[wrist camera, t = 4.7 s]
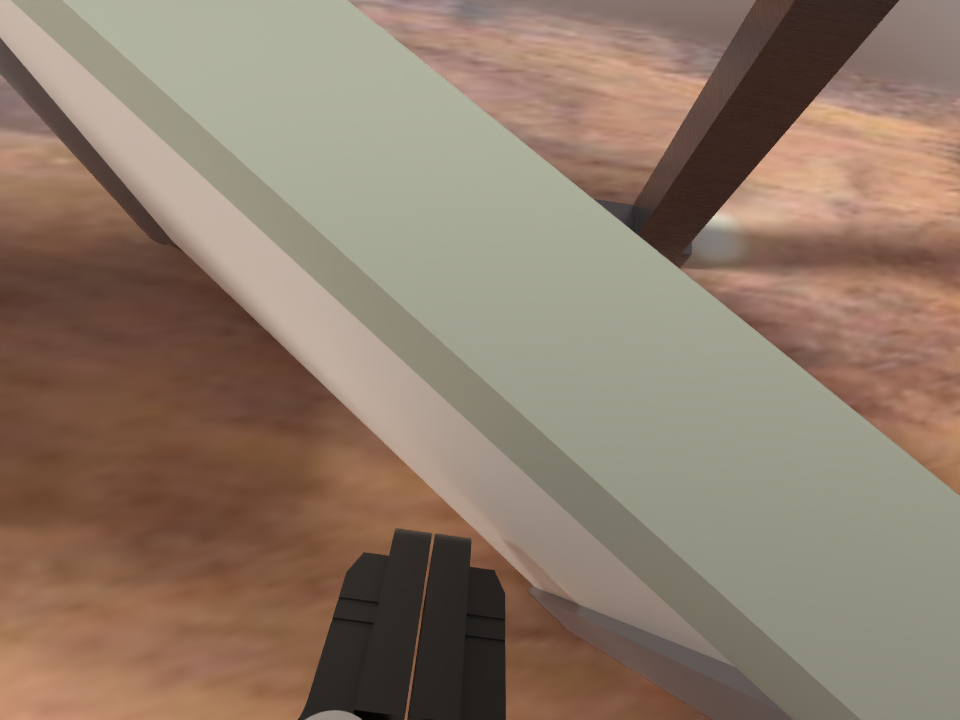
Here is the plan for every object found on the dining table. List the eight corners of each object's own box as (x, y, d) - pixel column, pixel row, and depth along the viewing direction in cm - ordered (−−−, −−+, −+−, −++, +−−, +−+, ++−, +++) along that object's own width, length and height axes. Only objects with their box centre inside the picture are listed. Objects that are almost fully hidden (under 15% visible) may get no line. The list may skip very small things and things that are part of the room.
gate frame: (154, 185, 21) (-629, -838, 5) (168, 148, 21) (-513, -885, 6) (679, 267, 21) (1303, -427, 6) (680, 229, 22) (1258, -500, 7)
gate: (129, 218, 20) (-678, -660, 5) (177, 182, 20) (-437, -701, 6) (564, 637, 17) (1339, 1165, 2) (607, 581, 17) (1442, 752, 3)
